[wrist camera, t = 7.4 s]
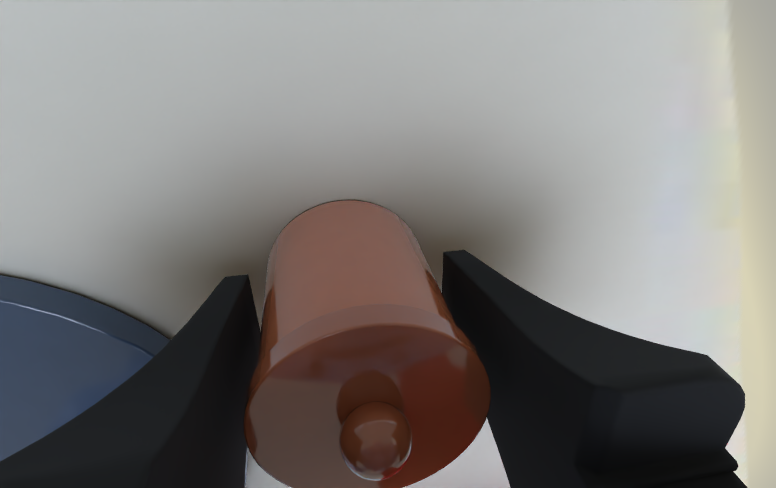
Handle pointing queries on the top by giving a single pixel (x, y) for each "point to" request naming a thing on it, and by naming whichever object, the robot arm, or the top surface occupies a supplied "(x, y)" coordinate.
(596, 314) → the top surface
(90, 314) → the plate
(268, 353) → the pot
